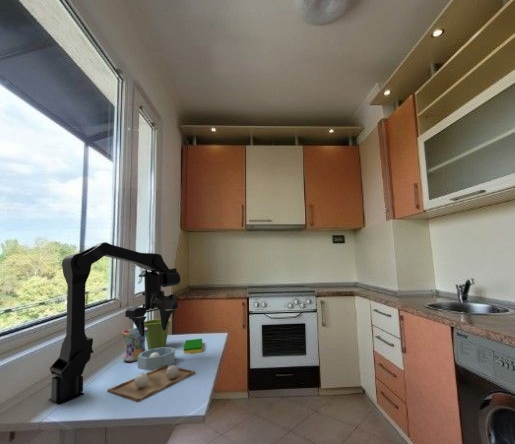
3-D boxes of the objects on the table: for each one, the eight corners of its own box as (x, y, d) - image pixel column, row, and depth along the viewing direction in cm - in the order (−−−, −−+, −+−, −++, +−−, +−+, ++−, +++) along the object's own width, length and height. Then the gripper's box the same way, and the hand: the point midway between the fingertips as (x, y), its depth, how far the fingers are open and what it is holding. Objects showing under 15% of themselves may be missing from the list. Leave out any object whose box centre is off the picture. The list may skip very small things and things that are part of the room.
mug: (145, 361, 105) (144, 331, 107) (118, 364, 104) (118, 334, 105) (151, 351, 117) (151, 325, 118) (128, 354, 115) (127, 327, 117)
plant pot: (170, 350, 117) (169, 322, 119) (139, 354, 115) (139, 325, 117) (172, 342, 129) (172, 317, 130) (145, 346, 126) (144, 319, 128)
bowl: (153, 372, 93) (153, 360, 94) (131, 367, 100) (131, 355, 100) (181, 360, 103) (181, 349, 104) (160, 356, 110) (159, 345, 110)
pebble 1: (139, 391, 79) (139, 376, 79) (131, 389, 81) (131, 374, 81) (151, 385, 82) (151, 371, 82) (143, 383, 84) (143, 370, 84)
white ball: (153, 366, 98) (153, 354, 98) (146, 364, 100) (146, 353, 100) (162, 362, 101) (162, 351, 102) (155, 361, 103) (155, 350, 104)
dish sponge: (183, 355, 110) (183, 349, 110) (185, 346, 124) (185, 340, 124) (202, 353, 111) (201, 347, 112) (202, 344, 125) (202, 338, 125)
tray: (137, 403, 72) (137, 399, 73) (107, 393, 80) (107, 389, 80) (195, 374, 89) (195, 371, 89) (165, 368, 97) (165, 365, 97)
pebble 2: (171, 382, 83) (171, 368, 84) (163, 380, 85) (162, 366, 86) (181, 377, 87) (181, 364, 87) (173, 375, 89) (172, 362, 89)
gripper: (145, 291, 92) (146, 342, 90) (187, 285, 107) (189, 328, 105) (124, 292, 97) (124, 339, 95) (167, 286, 113) (168, 326, 111)
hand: (153, 333), depth 102 cm, fingers open, 9 cm apart
